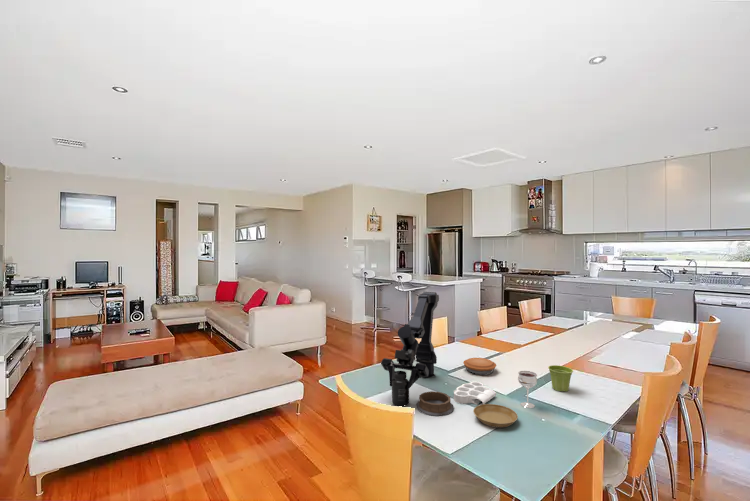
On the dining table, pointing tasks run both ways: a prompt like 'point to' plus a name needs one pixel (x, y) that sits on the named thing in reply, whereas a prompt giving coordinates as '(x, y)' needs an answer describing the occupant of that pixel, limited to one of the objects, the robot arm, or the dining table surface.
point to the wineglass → (527, 384)
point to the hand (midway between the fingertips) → (399, 387)
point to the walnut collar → (434, 404)
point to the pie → (479, 365)
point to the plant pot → (560, 377)
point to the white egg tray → (473, 393)
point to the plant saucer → (495, 415)
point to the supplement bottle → (400, 389)
